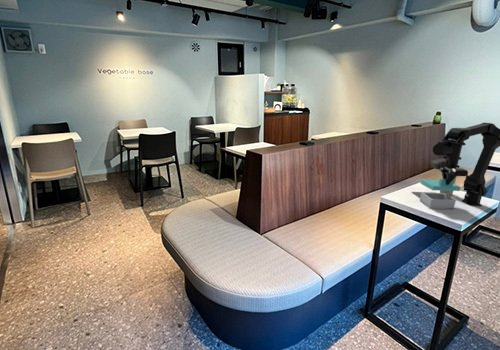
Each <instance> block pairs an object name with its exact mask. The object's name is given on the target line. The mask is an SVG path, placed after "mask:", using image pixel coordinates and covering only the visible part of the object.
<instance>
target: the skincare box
mask: <svg viewBox="0 0 500 350" xmlns="http://www.w3.org/2000/svg"><path fill="white" fill-rule="evenodd" d="M456 179H457V177H456V178H454V179H453V180H454V182H453V184H455V185H456ZM439 193H445V194H446V195H448V196H450V197H452V196H453V193H454V191H440V190H439Z"/></svg>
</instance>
